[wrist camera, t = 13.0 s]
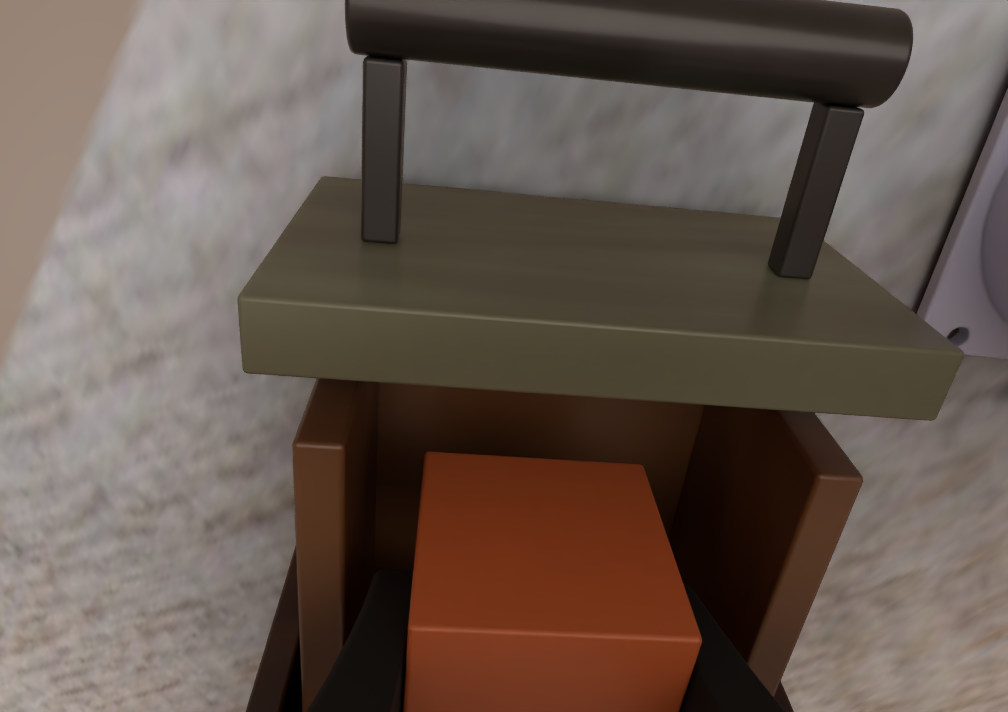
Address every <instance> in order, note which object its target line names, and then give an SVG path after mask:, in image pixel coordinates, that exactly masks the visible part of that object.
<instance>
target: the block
mask: <svg viewBox="0 0 1008 712" xmlns="http://www.w3.org/2000/svg"><path fill="white" fill-rule="evenodd" d="M701 643H702V637H701V634H700V631H699V628H698V626H697V623H696V620H695V617H694V614H693V611H692V608H691V605H690V602H689V599H688V596H687V593H686V590H685V587H684V584H683V581H682V579H681V576H680V573H679V570H678V567H677V564H676V561H675V558H674V555H673V552H672V549H671V546H670V543H669V540H668V537H667V534H666V532H665V529H664V526H663V523H662V520H661V517H660V514H659V511H658V508H657V505H656V502H655V499H654V496H653V493H652V490H651V487H650V484H649V482H648V479H647V476H646V473H645V470H644V467H643V466H642V465H640V464H626V463H609V462H593V461H577V460H561V459H544V458H528V457H512V456H496V455H479V454H463V453H447V452H430V451H429V452H426V454H425V455H424V464H423V475H422V485H421V496H420V506H419V516H418V527H417V537H416V548H415V558H414V569H413V579H412V590H411V600H410V611H409V621H408V634H407V651H406V668H405V685H404V702H403V712H679V711H680V708H681V704H682V701H683V698H684V695H685V692H686V689H687V686H688V683H689V680H690V677H691V674H692V671H693V668H694V665H695V662H696V659H697V656H698V653H699V650H700V647H701Z"/></svg>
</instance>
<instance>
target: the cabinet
mask: <svg viewBox="0 0 1008 712" xmlns="http://www.w3.org/2000/svg"><path fill="white" fill-rule="evenodd" d="M774 698H775V700H776V701H777V702H778V703H779V705H780V706H781V707H782V708H783V709H784V711H785V712H794V711H793V709H792V706H791V704H790V702H789V699H788V697H787V695H786V692H785V690H784V688H783V685H782V683H781V681H780V683H779V685H778V688H777V690H776V692H775V695H774ZM246 712H303V710H302V684H301V658H300V632H299V607H298V581H297V555H296V547H295V550H294V553H293V557H292V560H291V563H290V567H289V570H288V573H287V577H286V580H285V583H284V586H283V590H282V593H281V596H280V600H279V603H278V606H277V610H276V613H275V616H274V620H273V623H272V626H271V629H270V633H269V636H268V639H267V643H266V646H265V649H264V653H263V656H262V659H261V663H260V666H259V669H258V673H257V676H256V679H255V682H254V686H253V689H252V692H251V696H250V699H249V702H248V706H247V709H246Z"/></svg>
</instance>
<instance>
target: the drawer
mask: <svg viewBox="0 0 1008 712" xmlns="http://www.w3.org/2000/svg"><path fill="white" fill-rule="evenodd" d="M345 23H346V34H347V41H348V45H349V48H350V50H351V52H352V53H354V54H358V55H368V56H367V57H365V58H364V61H363V105H362V180H360V179H349V178H338V177H327V176H323V177H321V179H320V180H319V181H318V183H317V184H316V186H315V187H314V189H313V190H312V191H311V193H310V194H309V196H308V197H307V199H306V200H305V201H304V203H303V204H302V206H301V207H300V209H299V210H298V211H297V213H296V214H295V216H294V217H293V219H292V220H291V222H290V223H289V224H288V226H287V227H286V229H285V230H284V232H283V233H282V234H281V236H280V237H279V239H278V240H277V242H276V243H275V244H274V246H273V247H272V249H271V250H270V252H269V253H268V254H267V256H266V257H265V259H264V260H263V262H262V263H261V264H260V266H259V267H258V269H257V270H256V272H255V273H254V274H253V276H252V277H251V279H250V280H249V282H248V283H247V284H246V286H245V287H244V289H243V290H242V292H241V293H240V294H239V296H238V312H239V326H240V340H241V354H242V367H243V370H244V372H245V373H251V374H265V375H279V376H294V377H308V378H317V379H316V382H315V385H314V387H313V390H312V393H311V395H310V398H309V401H308V403H307V406H306V409H305V411H304V414H303V417H302V419H301V422H300V425H299V427H298V430H297V433H296V435H295V438H294V441H293V444H292V452H293V478H294V504H295V529H296V555H297V581H298V607H299V632H300V658H301V684H302V710H303V712H306V711H307V710H308V708H309V706H310V705H311V703H312V701H313V700H314V698H315V697H316V695H317V693H318V692H319V690H320V688H321V687H322V685H323V683H324V682H325V680H326V678H327V676H328V675H329V673H330V671H331V669H332V667H333V665H334V663H335V661H336V660H337V658H338V656H339V654H340V652H341V650H342V648H343V646H344V645H345V643H346V641H347V639H348V637H349V635H350V633H351V631H352V628H353V626H354V624H355V622H356V620H357V618H358V616H359V613H360V611H361V609H362V606H363V604H364V601H365V599H366V596H367V594H368V591H369V588H370V585H371V582H372V578H373V575H374V574H375V573H376V572H378V571H379V570H380V569H386V570H407V571H413V569H414V558H415V548H416V537H417V527H418V516H419V506H420V496H421V485H422V475H423V464H424V455H425V454H426V452H429V451H430V452H447V453H463V454H479V455H496V456H512V457H528V458H544V459H561V460H577V461H593V462H609V463H626V464H640V465H642V466H643V467H644V470H645V473H646V476H647V479H648V482H649V484H650V487H651V490H652V493H653V496H654V499H655V502H656V505H657V508H658V511H659V514H660V517H661V520H662V523H663V526H664V529H665V532H666V534H667V537H668V540H669V543H670V546H671V549H672V552H673V555H674V558H675V561H676V564H677V567H678V570H679V573H680V576H681V579H682V581H683V584H689V586H690V587H691V588H692V589H693V591H694V592H695V593H696V595H697V596H698V597H699V599H700V600H701V602H702V603H703V604H704V606H705V607H706V609H707V610H708V611H709V613H710V614H711V616H712V617H713V618H714V620H715V621H716V622H717V624H718V625H719V627H720V628H721V629H722V631H723V632H724V633H725V635H726V636H727V638H728V639H729V640H730V642H731V643H732V644H733V646H734V647H735V648H736V650H737V651H738V652H739V654H740V655H741V656H742V658H743V659H744V660H745V662H746V663H747V664H748V666H749V667H750V668H751V669H752V671H753V672H754V673H755V674H756V676H757V677H758V678H759V680H760V681H761V682H762V683H763V685H764V686H765V687H766V688H767V690H768V691H769V692H770V693H771V695H772V696H773V697H774V695H775V692H776V690H777V688H778V685H779V683H780V680H781V678H782V676H783V673H784V671H785V668H786V666H787V663H788V661H789V659H790V656H791V654H792V651H793V649H794V647H795V644H796V642H797V639H798V637H799V635H800V632H801V630H802V627H803V625H804V622H805V620H806V618H807V615H808V613H809V610H810V608H811V606H812V603H813V601H814V598H815V596H816V594H817V591H818V589H819V586H820V584H821V581H822V579H823V577H824V574H825V572H826V569H827V567H828V565H829V562H830V560H831V557H832V555H833V552H834V550H835V548H836V545H837V543H838V540H839V538H840V536H841V533H842V531H843V528H844V526H845V524H846V521H847V519H848V516H849V514H850V511H851V509H852V507H853V504H854V502H855V499H856V497H857V495H858V492H859V490H860V487H861V485H862V483H863V477H862V475H861V474H860V473H859V471H858V470H857V469H856V467H855V466H854V465H853V463H852V462H851V461H850V459H849V458H848V457H847V455H846V454H845V453H844V451H843V450H842V449H841V447H840V446H839V445H838V444H837V442H836V441H835V440H834V438H833V437H832V436H831V434H830V433H829V432H828V430H827V429H826V428H825V426H824V425H823V424H822V422H821V421H820V420H819V418H818V417H817V416H816V414H815V413H829V414H843V415H858V416H872V417H886V418H901V419H915V420H930V421H932V420H935V419H936V417H937V415H938V413H939V411H940V408H941V406H942V404H943V402H944V399H945V397H946V395H947V393H948V391H949V388H950V386H951V384H952V382H953V379H954V377H955V375H956V373H957V371H958V368H959V366H960V364H961V362H962V359H963V357H964V352H963V351H962V350H961V349H959V348H958V347H957V346H956V345H954V344H953V343H952V342H951V341H949V340H948V339H947V338H946V337H944V336H943V335H942V334H941V333H939V332H938V331H937V330H935V329H934V328H933V327H932V326H930V325H929V324H928V323H927V322H925V321H924V320H923V319H922V318H920V317H919V316H918V315H917V314H915V313H914V312H913V311H912V310H910V309H909V308H908V307H907V306H905V305H904V304H903V303H902V302H900V301H899V300H898V299H896V298H895V297H894V296H893V295H891V294H890V293H889V292H888V291H886V290H885V289H884V288H883V287H881V286H880V285H879V284H878V283H876V282H875V281H874V280H873V279H871V278H870V277H869V276H868V275H866V274H865V273H864V272H862V271H861V270H860V269H859V268H857V267H856V266H855V265H854V264H852V263H851V262H850V261H849V260H847V259H846V258H845V257H844V256H842V255H841V254H840V253H839V252H837V251H836V250H835V249H834V248H832V247H831V246H830V245H828V244H827V243H826V242H825V241H823V240H824V237H825V234H826V231H827V228H828V225H829V221H830V218H831V215H832V212H833V209H834V206H835V203H836V200H837V197H838V193H839V190H840V187H841V184H842V181H843V178H844V175H845V172H846V169H847V165H848V162H849V159H850V156H851V153H852V150H853V147H854V144H855V141H856V137H857V134H858V131H859V128H860V125H861V122H862V119H863V116H864V111H863V110H862V109H860V108H857V107H862V108H874V107H877V106H879V105H881V104H883V103H884V102H886V101H887V100H888V99H889V98H890V97H891V96H892V94H893V93H894V92H895V90H896V89H897V87H898V86H899V84H900V82H901V80H902V78H903V76H904V74H905V72H906V69H907V66H908V63H909V60H910V56H911V51H912V44H913V28H912V23H911V20H910V18H909V16H908V15H907V14H906V13H905V12H903V11H902V10H900V9H894V8H886V7H877V6H869V5H860V4H852V3H843V2H835V1H826V0H345ZM406 60H415V61H425V62H434V63H444V64H453V65H463V66H472V67H482V68H491V69H501V70H510V71H520V72H529V73H539V74H548V75H558V76H567V77H577V78H586V79H596V80H605V81H615V82H624V83H634V84H643V85H653V86H662V87H672V88H681V89H691V90H700V91H710V92H719V93H729V94H738V95H748V96H757V97H767V98H776V99H786V100H795V101H805V102H814V104H813V107H812V111H811V114H810V118H809V121H808V125H807V128H806V132H805V135H804V139H803V142H802V146H801V149H800V153H799V156H798V159H797V163H796V166H795V170H794V173H793V177H792V180H791V184H790V187H789V191H788V194H787V198H786V201H785V205H784V208H783V212H782V215H781V218H776V217H765V216H754V215H743V214H732V213H721V212H710V211H699V210H688V209H677V208H666V207H655V206H644V205H633V204H622V203H612V202H601V201H590V200H579V199H568V198H557V197H546V196H535V195H524V194H513V193H502V192H491V191H480V190H469V189H458V188H448V187H437V186H426V185H415V184H404V183H402V182H403V156H404V130H405V104H406V78H407V61H406Z"/></svg>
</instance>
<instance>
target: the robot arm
mask: <svg viewBox="0 0 1008 712" xmlns="http://www.w3.org/2000/svg"><path fill="white" fill-rule="evenodd" d="M917 315H918V316H919V317H920V318H922V319H923V320H924V321H925V322H927V323H928V324H929V325H930V326H932V327H933V328H934V329H935V330H937V331H938V332H939V333H941V334H942V335H943V336H944V337H946V338H947V336H948V335H949V333H950V332H951V331H952V330H954V329H956V328H959V331H958V332H957V334H956V335H955V336H953V337H952V338H950V339H948V340H949V341H951V342H952V343H953V344H954V345H956V346H957V347H958V348H959V349H961V350H962V351H963V352H964V356H977V357H990V358H1003V359H1008V89H1007V91H1006V94H1005V96H1004V98H1003V101H1002V103H1001V106H1000V108H999V111H998V113H997V116H996V118H995V121H994V123H993V126H992V128H991V131H990V133H989V136H988V138H987V141H986V143H985V146H984V148H983V151H982V153H981V155H980V158H979V160H978V163H977V165H976V168H975V170H974V173H973V175H972V178H971V180H970V183H969V185H968V188H967V190H966V193H965V195H964V198H963V200H962V203H961V205H960V208H959V210H958V213H957V215H956V217H955V220H954V222H953V225H952V227H951V230H950V232H949V235H948V237H947V240H946V242H945V245H944V247H943V250H942V252H941V255H940V257H939V260H938V262H937V265H936V267H935V270H934V272H933V274H932V277H931V279H930V282H929V284H928V287H927V289H926V292H925V294H924V297H923V299H922V302H921V304H920V307H919V309H918V312H917ZM412 579H413V571H407V570H386V569H380V570H379V571H378V572H376V573H375V574H374V575H373V578H372V582H371V585H370V588H369V591H368V594H367V596H366V599H365V601H364V604H363V606H362V609H361V611H360V613H359V616H358V618H357V620H356V622H355V624H354V626H353V628H352V631H351V633H350V635H349V637H348V639H347V641H346V643H345V645H344V646H343V648H342V650H341V652H340V654H339V656H338V658H337V660H336V661H335V663H334V665H333V667H332V669H331V671H330V673H329V675H328V676H327V678H326V680H325V682H324V683H323V685H322V687H321V688H320V690H319V692H318V693H317V695H316V697H315V698H314V700H313V701H312V703H311V705H310V706H309V708H308V710H307V711H306V712H403V702H404V685H405V668H406V651H407V634H408V621H409V611H410V600H411V590H412ZM684 587H685V590H686V593H687V596H688V599H689V602H690V605H691V608H692V611H693V614H694V617H695V620H696V623H697V626H698V628H699V631H700V634H701V637H702V643H701V647H700V650H699V653H698V656H697V659H696V662H695V665H694V668H693V671H692V674H691V677H690V680H689V683H688V686H687V689H686V692H685V695H684V698H683V701H682V704H681V708H680V711H679V712H785V711H784V709H783V708H782V707H781V706H780V705H779V703H778V702H777V701H776V700H775V698H774V697H773V696H772V695H771V693H770V692H769V691H768V690H767V688H766V687H765V686H764V685H763V683H762V682H761V681H760V680H759V678H758V677H757V676H756V674H755V673H754V672H753V671H752V669H751V668H750V667H749V666H748V664H747V663H746V662H745V660H744V659H743V658H742V656H741V655H740V654H739V652H738V651H737V650H736V648H735V647H734V646H733V644H732V643H731V642H730V640H729V639H728V638H727V636H726V635H725V633H724V632H723V631H722V629H721V628H720V627H719V625H718V624H717V622H716V621H715V620H714V618H713V617H712V616H711V614H710V613H709V611H708V610H707V609H706V607H705V606H704V604H703V603H702V602H701V600H700V599H699V597H698V596H697V595H696V593H695V592H694V591H693V589H692V588H691V587H690V586H689V584H684Z"/></svg>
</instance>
